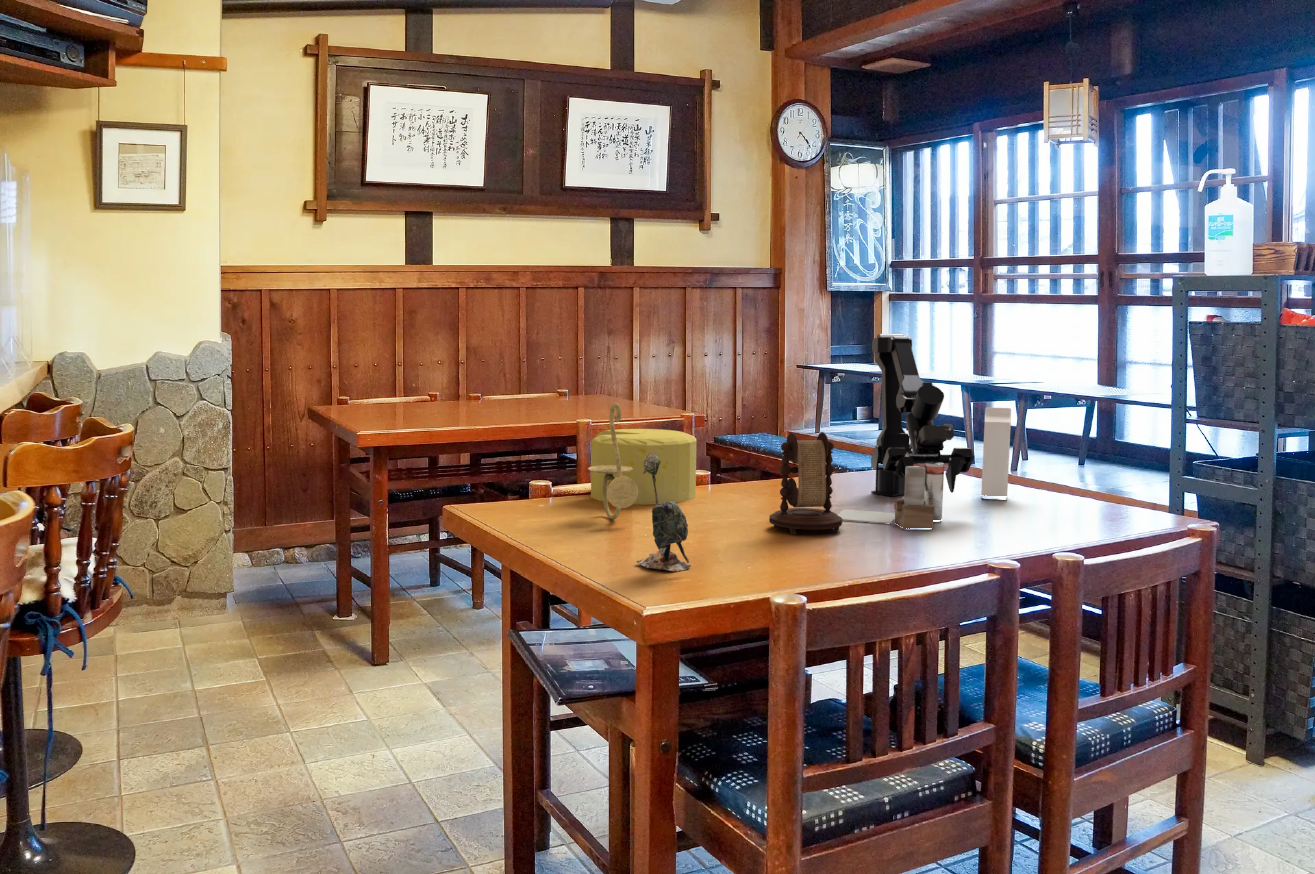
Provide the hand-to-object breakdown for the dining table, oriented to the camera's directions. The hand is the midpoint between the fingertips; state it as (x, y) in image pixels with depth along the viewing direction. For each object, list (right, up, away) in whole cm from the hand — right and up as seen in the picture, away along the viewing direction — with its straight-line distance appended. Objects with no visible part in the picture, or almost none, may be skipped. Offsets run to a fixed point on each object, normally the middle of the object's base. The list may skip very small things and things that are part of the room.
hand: (935, 491), depth 234 cm
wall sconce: (-69, -6, 0) cm, 69 cm away
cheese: (-63, -3, +32) cm, 70 cm away
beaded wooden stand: (-29, -8, -9) cm, 31 cm away
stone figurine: (-58, -11, -44) cm, 74 cm away
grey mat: (-14, -6, +5) cm, 16 cm away
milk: (+22, -3, +33) cm, 40 cm away
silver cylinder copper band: (0, -6, +2) cm, 7 cm away
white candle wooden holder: (-6, -7, -5) cm, 10 cm away
